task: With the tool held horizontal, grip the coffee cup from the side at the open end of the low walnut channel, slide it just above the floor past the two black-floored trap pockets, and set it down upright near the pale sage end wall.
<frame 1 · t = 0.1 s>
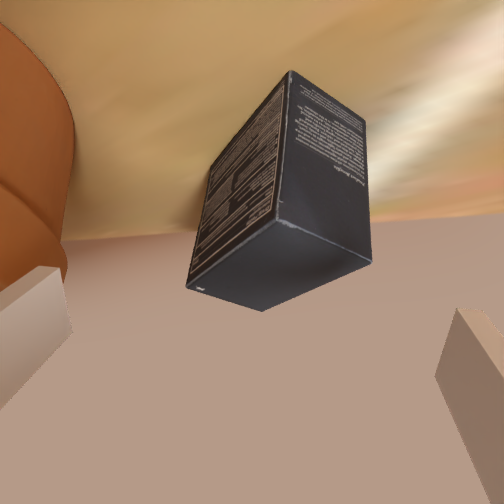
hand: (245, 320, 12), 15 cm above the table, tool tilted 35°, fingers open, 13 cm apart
small box: (282, 144, 26), on the table
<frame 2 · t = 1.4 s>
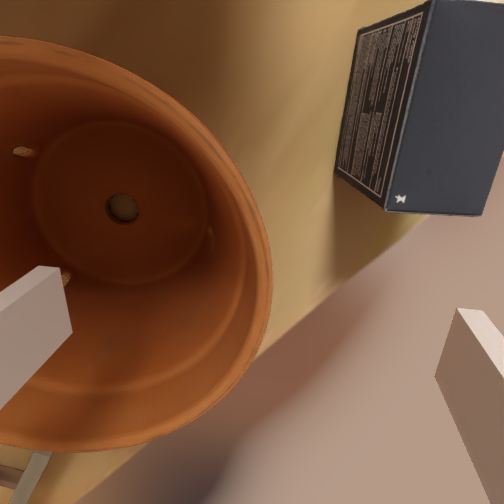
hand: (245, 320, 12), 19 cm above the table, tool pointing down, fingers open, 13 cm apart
small box: (383, 109, 29), on the table
flower pot: (127, 202, 31), on the table
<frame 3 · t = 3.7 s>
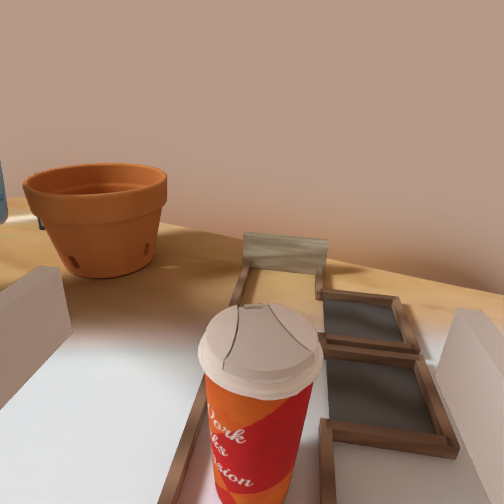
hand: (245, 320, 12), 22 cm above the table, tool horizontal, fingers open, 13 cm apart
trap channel: (270, 357, 44), on the table
coffee cup: (251, 483, 30), on the table
flower pot: (110, 260, 65), on the table
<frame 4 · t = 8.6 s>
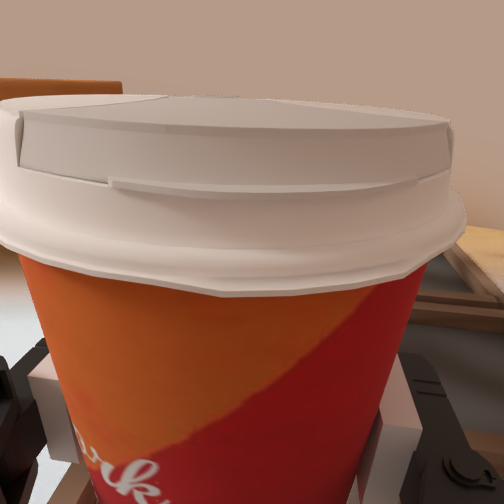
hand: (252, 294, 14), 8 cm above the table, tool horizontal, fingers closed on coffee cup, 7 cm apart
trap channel: (266, 318, 26), on the table
flower pot: (47, 206, 47), on the table
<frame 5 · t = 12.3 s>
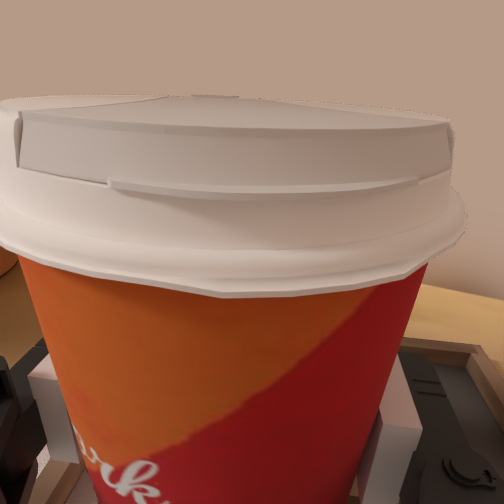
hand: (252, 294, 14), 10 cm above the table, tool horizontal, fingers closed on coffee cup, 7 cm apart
when the fingers open (9 cm above the table, at t = 16.1 s): coffee cup stays where it is, on the table.
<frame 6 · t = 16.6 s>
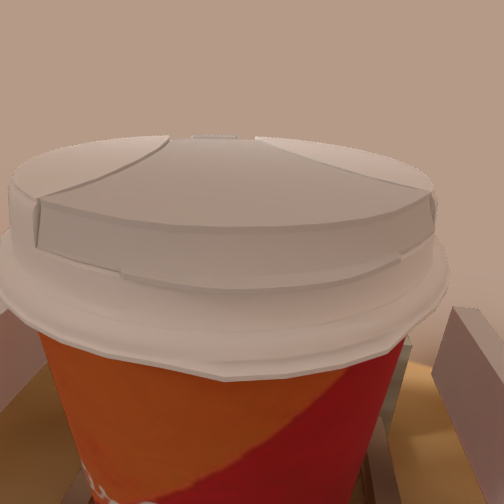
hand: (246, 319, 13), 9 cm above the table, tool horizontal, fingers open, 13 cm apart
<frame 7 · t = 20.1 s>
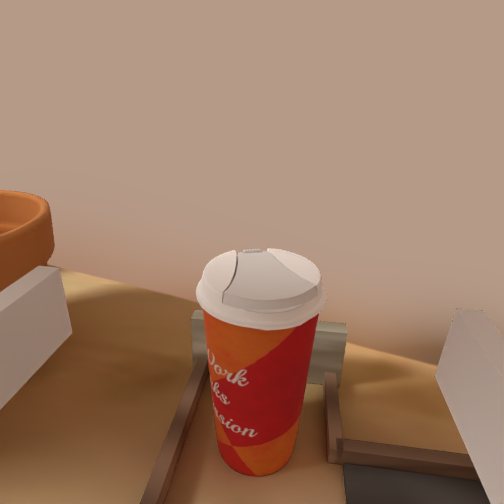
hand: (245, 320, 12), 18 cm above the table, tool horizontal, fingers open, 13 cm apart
coffee cup: (255, 443, 29), on the table
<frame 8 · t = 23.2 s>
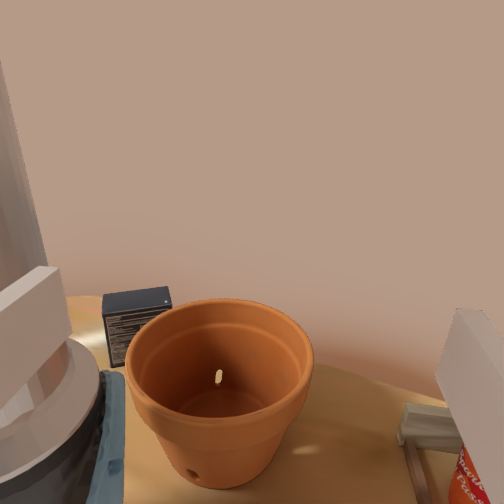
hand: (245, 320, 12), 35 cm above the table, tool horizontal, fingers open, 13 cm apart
small box: (143, 351, 63), on the table
flower pot: (220, 436, 49), on the table
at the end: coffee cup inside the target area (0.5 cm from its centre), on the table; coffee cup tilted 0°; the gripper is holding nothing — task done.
